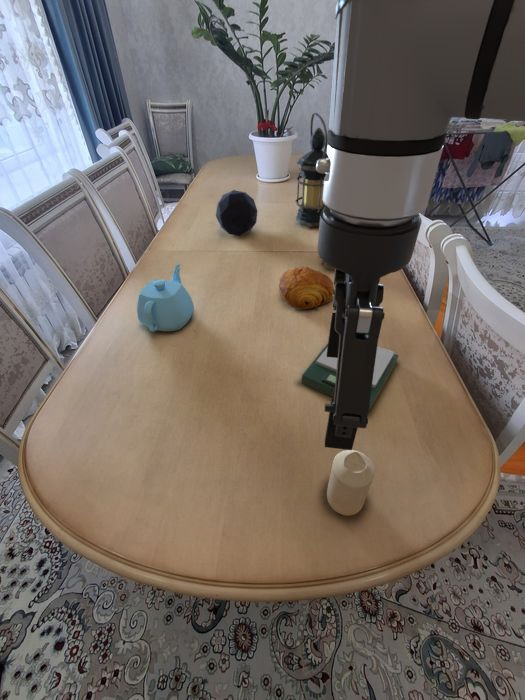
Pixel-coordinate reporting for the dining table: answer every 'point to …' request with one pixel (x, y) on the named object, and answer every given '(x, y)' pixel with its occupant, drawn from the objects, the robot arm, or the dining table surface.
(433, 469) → the dining table surface
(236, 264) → the dining table surface
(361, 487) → the candle
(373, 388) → the scale
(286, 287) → the croissant
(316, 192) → the lantern
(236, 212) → the decorative orb
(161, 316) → the teapot
